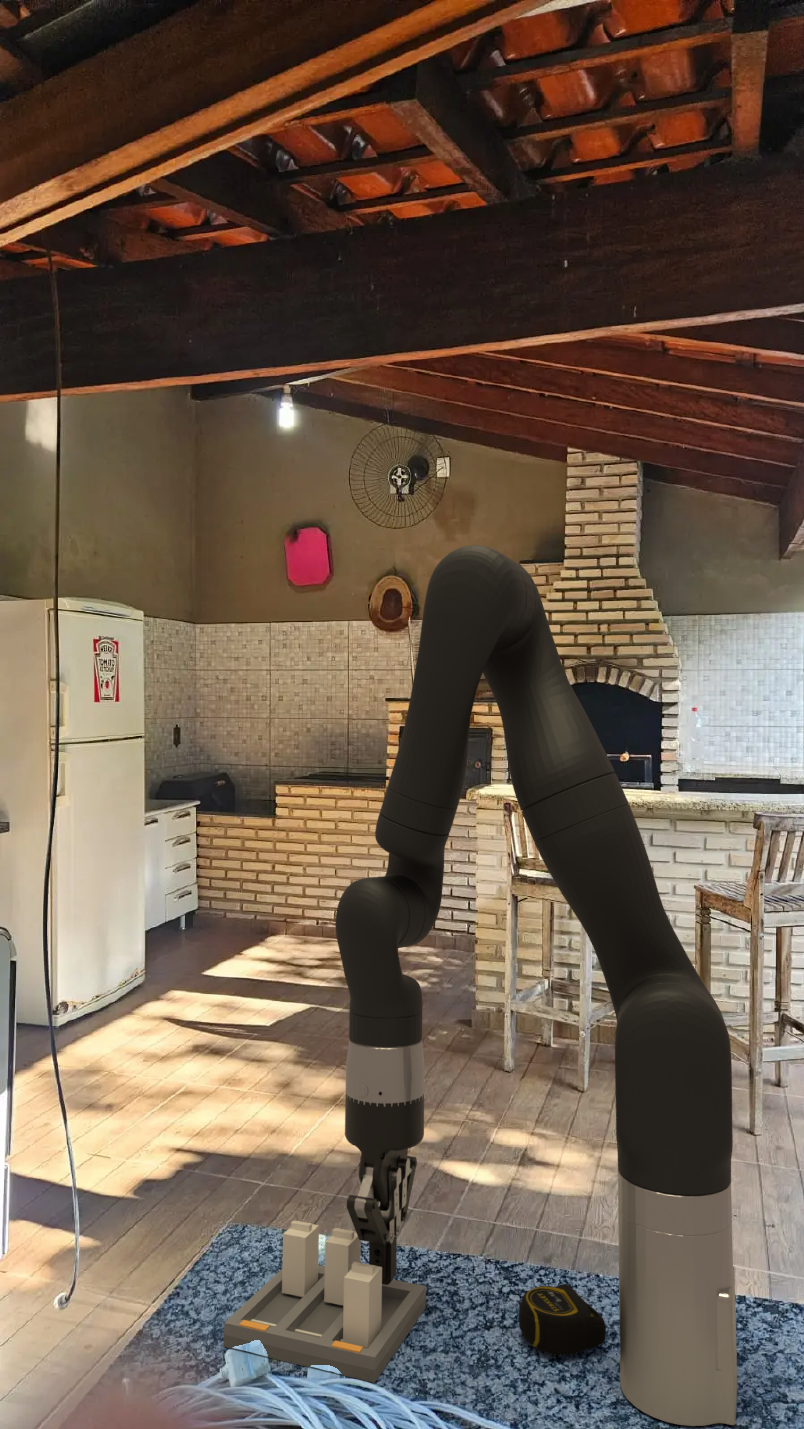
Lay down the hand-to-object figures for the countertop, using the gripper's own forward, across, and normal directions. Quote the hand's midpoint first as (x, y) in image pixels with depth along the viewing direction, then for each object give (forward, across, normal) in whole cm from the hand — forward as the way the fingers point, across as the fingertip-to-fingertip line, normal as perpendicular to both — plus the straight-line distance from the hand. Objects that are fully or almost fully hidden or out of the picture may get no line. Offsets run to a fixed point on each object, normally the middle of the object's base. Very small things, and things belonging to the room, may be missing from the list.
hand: (382, 1279), depth 89 cm
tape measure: (+4, +4, -16) cm, 17 cm away
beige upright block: (+3, +1, +5) cm, 5 cm away
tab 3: (+3, +1, +9) cm, 9 cm away
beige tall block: (+3, -5, 0) cm, 6 cm away
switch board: (+4, -2, +4) cm, 6 cm away
